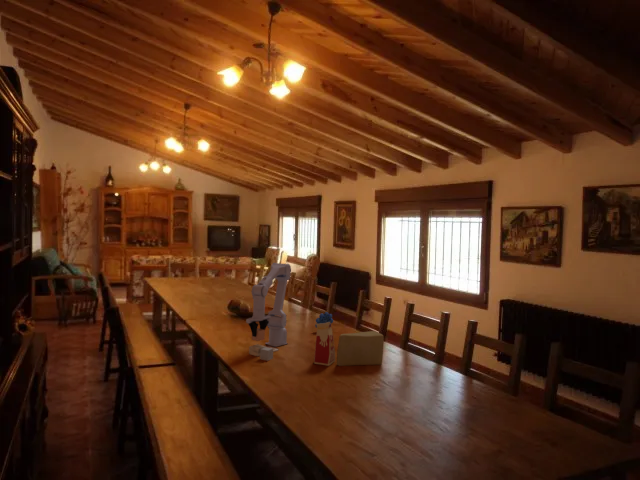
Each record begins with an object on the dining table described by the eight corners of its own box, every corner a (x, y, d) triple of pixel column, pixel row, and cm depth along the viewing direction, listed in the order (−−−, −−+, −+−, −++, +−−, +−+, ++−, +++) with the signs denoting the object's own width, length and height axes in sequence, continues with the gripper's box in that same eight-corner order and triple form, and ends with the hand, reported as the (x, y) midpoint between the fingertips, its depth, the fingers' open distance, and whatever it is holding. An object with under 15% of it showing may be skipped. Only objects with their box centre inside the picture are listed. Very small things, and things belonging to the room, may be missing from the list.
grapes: (330, 329, 302) (330, 310, 301) (334, 332, 295) (335, 312, 295) (312, 330, 297) (313, 310, 297) (316, 332, 291) (317, 313, 291)
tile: (269, 347, 256) (269, 346, 256) (278, 350, 251) (278, 349, 251) (259, 349, 250) (259, 348, 250) (268, 352, 246) (268, 351, 246)
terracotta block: (264, 339, 243) (264, 329, 243) (257, 341, 240) (257, 331, 239) (258, 337, 246) (258, 328, 246) (251, 339, 243) (251, 329, 242)
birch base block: (257, 351, 247) (257, 344, 247) (265, 354, 244) (266, 346, 244) (248, 354, 243) (249, 346, 242) (257, 356, 239) (257, 348, 239)
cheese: (341, 368, 225) (342, 337, 224) (333, 362, 234) (334, 332, 233) (383, 365, 233) (384, 334, 232) (373, 359, 242) (375, 329, 241)
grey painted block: (265, 357, 239) (265, 347, 239) (272, 358, 237) (273, 348, 237) (260, 359, 235) (260, 349, 235) (267, 360, 233) (268, 350, 233)
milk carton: (335, 360, 237) (336, 320, 236) (329, 366, 228) (331, 324, 227) (317, 358, 240) (319, 318, 239) (311, 363, 231) (312, 322, 230)
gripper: (264, 305, 250) (263, 331, 251) (242, 309, 239) (241, 336, 240) (273, 307, 246) (272, 334, 246) (251, 311, 235) (251, 339, 235)
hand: (258, 335), depth 243 cm, fingers closed on terracotta block, 4 cm apart
